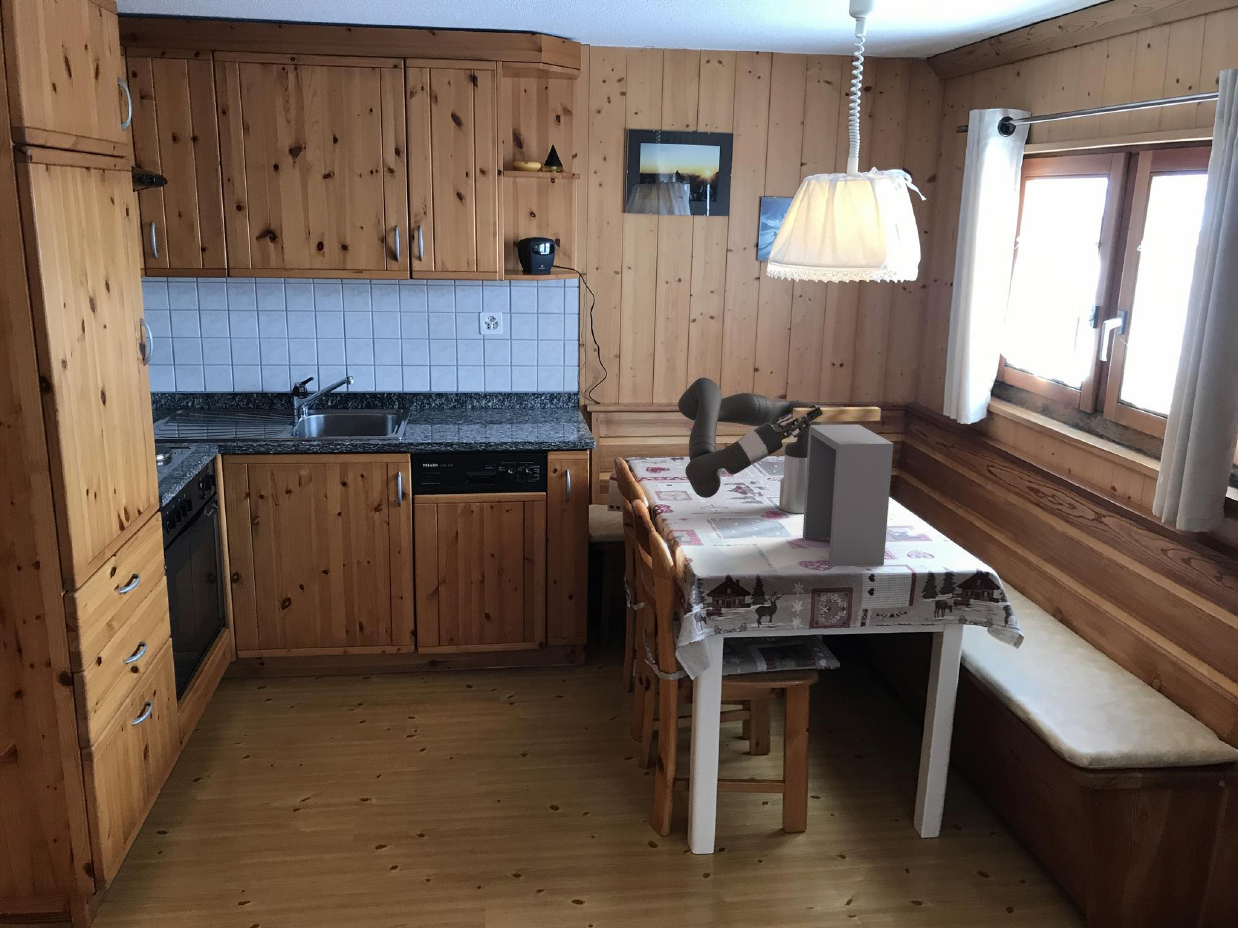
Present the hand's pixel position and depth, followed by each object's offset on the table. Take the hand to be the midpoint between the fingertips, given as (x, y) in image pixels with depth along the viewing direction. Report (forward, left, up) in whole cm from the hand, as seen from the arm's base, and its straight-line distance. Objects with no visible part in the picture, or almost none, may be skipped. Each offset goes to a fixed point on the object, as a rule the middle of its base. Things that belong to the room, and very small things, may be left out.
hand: (818, 409), depth 253 cm
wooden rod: (+3, +4, -3) cm, 6 cm away
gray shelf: (+3, +13, -40) cm, 42 cm away
